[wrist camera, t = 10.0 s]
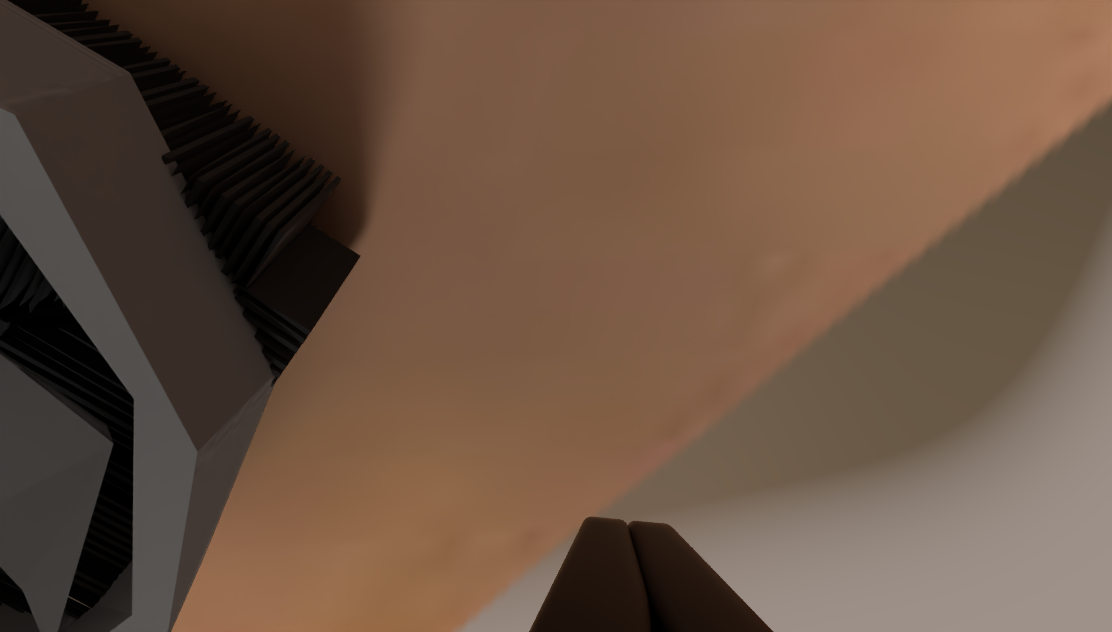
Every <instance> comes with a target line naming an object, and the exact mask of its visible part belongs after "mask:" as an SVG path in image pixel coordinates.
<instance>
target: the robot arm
mask: <svg viewBox="0 0 1112 632" xmlns="http://www.w3.org/2000/svg"><path fill="white" fill-rule="evenodd" d="M529 632H773V631H772V630H771V629H770V628H769V627H768V626H767V625H766V624H765V623H764V622H763V621H762V620H761V619H760V618H759V617H758V615H757V614H756V613H755V612H754V611H753V610H752V609H751V608H750V607H749V606H748V605H747V604H746V603H745V602H744V601H743V600H742V599H741V598H740V597H739V596H738V595H737V594H736V593H735V592H734V591H733V590H732V589H731V588H730V586H728V584H726V582H725V581H724V580H723V579H722V578H721V577H720V576H719V575H718V574H717V573H716V572H715V571H714V570H713V569H712V568H711V567H710V566H709V565H708V564H707V563H706V562H705V561H704V560H703V559H702V558H701V556H699V554H698V553H697V552H696V551H695V550H694V549H693V548H692V547H691V546H690V545H689V544H688V543H687V542H686V541H685V540H684V539H683V538H682V537H681V536H680V535H679V534H678V533H677V532H676V531H675V530H674V529H673V528H672V527H671V526H670V525H667V524H664V523H653V522H642V521H632V522H630V523H629V524H628V525H627V523H626V522H624V521H623V520H620V519H610V518H600V517H588V518H586V519H585V520H584V522H583V523H582V525H581V527H580V530H579V532H578V534H577V536H576V538H575V540H574V542H573V544H572V546H571V548H570V550H569V552H568V554H567V556H566V558H565V560H564V562H563V564H562V566H561V568H560V570H559V572H558V574H557V576H556V579H555V580H554V582H553V584H552V586H551V589H550V591H549V593H548V595H547V597H546V599H545V601H544V603H543V605H542V607H541V609H540V611H539V613H538V615H537V617H536V619H535V621H534V623H533V625H532V627H531V629H530V631H529Z"/></svg>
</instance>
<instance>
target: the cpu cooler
mask: <svg viewBox="0 0 1112 632" xmlns="http://www.w3.org/2000/svg"><path fill="white" fill-rule="evenodd" d="M82 1H83V0H0V632H171V630H172V628H173V626H174V624H175V621H176V619H177V617H178V615H179V612H180V610H181V608H182V606H183V603H184V601H185V599H186V596H187V594H188V592H189V590H190V587H191V585H192V583H193V581H194V578H195V576H196V574H197V572H198V569H199V567H200V565H201V563H202V560H203V558H204V555H205V553H206V551H207V548H208V546H209V543H210V541H211V538H212V536H213V533H214V531H215V529H216V526H217V524H218V521H219V519H220V516H221V514H222V511H223V509H224V506H225V504H226V502H227V499H228V497H229V494H230V492H231V489H232V487H233V484H234V482H235V480H236V477H237V475H238V472H239V470H240V467H241V465H242V462H243V460H244V457H245V455H246V453H247V450H248V448H249V445H250V443H251V440H252V438H253V435H254V433H255V430H256V428H257V426H258V423H259V421H260V418H261V416H262V413H263V411H264V408H265V406H266V404H267V401H268V399H269V396H270V394H271V391H272V389H273V386H274V384H275V382H276V380H277V379H278V378H279V376H280V375H281V373H282V372H283V370H284V369H285V368H286V366H287V365H288V363H289V362H290V361H291V359H292V358H293V356H294V355H295V353H296V352H297V351H298V349H299V348H300V346H301V345H302V344H303V342H304V341H305V339H306V338H307V336H308V335H309V334H310V332H311V331H312V329H313V328H314V326H315V325H316V323H317V322H318V320H319V319H320V317H321V316H322V314H323V313H324V311H325V309H326V308H327V306H328V305H329V303H330V302H331V300H332V299H333V297H334V296H335V294H336V293H337V291H338V290H339V288H340V287H341V285H342V284H343V282H344V281H345V279H346V278H347V276H348V274H349V273H350V271H351V270H352V268H353V267H354V265H355V264H356V262H357V261H358V259H359V258H360V255H358V254H357V253H355V252H354V251H352V250H350V249H349V248H347V247H346V246H344V245H343V244H341V243H340V242H338V241H337V240H335V239H333V238H332V237H330V236H329V235H327V234H326V233H324V232H323V231H321V230H319V229H318V228H316V227H315V226H313V225H312V224H310V223H311V222H312V221H311V220H312V218H313V217H314V216H315V214H316V213H317V212H318V210H319V209H320V207H321V206H322V205H323V203H324V202H325V201H326V199H327V198H328V197H329V195H330V194H331V192H332V191H333V190H334V188H335V187H336V186H337V184H338V183H339V181H340V180H341V178H340V177H338V176H336V177H335V178H334V179H333V180H332V181H331V182H330V183H329V184H328V185H327V186H326V187H325V188H324V189H323V190H322V188H323V187H324V185H325V184H326V182H327V181H328V179H329V178H330V176H331V175H332V172H331V171H329V170H328V171H326V172H325V173H324V174H323V175H322V176H321V177H320V178H318V179H317V177H318V176H319V174H320V173H321V171H322V170H323V168H324V166H322V165H321V164H319V165H318V166H317V167H316V168H314V169H313V170H312V171H311V172H310V173H308V171H309V170H310V168H311V167H312V165H313V164H314V162H315V160H313V159H312V158H310V159H309V160H308V161H306V162H305V163H304V164H302V165H301V163H302V162H303V160H304V158H305V157H306V156H304V157H303V158H301V159H300V160H298V161H296V162H295V163H293V164H292V165H290V166H289V167H287V168H285V169H284V167H285V166H286V164H287V162H288V161H289V159H290V158H291V156H292V154H293V153H294V151H295V150H296V149H294V150H292V151H291V152H289V153H287V154H286V155H284V156H283V157H282V155H283V153H284V152H285V150H286V149H287V147H288V146H289V144H290V143H289V142H287V141H286V140H285V141H284V142H282V143H280V144H279V145H277V146H276V147H275V145H276V144H277V142H278V141H279V139H280V136H279V135H277V134H275V135H273V136H272V137H270V138H269V136H270V135H271V133H272V130H270V129H269V128H268V129H266V130H264V131H263V132H261V133H259V134H258V135H256V136H254V134H255V132H256V130H257V129H258V127H259V125H260V124H261V123H260V124H258V125H256V126H254V127H252V128H250V129H249V127H250V126H251V124H252V122H253V121H254V118H253V117H252V116H248V117H246V118H244V119H242V120H239V121H237V122H235V123H234V121H235V119H236V117H237V116H238V114H239V112H240V110H238V111H236V112H234V113H232V114H230V115H228V116H226V115H227V113H228V111H229V109H230V108H231V106H232V104H230V105H228V106H225V107H224V105H225V104H226V102H227V100H226V101H223V102H220V103H217V104H214V105H211V106H209V104H210V103H211V101H212V99H213V97H214V95H215V94H216V92H215V93H212V94H209V95H205V93H206V92H207V90H208V88H209V87H208V86H207V85H205V84H203V85H199V86H197V84H198V82H199V80H198V79H197V78H195V77H194V78H191V79H187V80H183V81H181V79H182V77H183V75H184V73H185V72H186V71H184V72H180V73H178V71H179V70H180V68H181V67H179V66H178V65H176V64H175V65H170V66H168V65H169V63H170V62H171V60H169V59H168V58H161V59H156V60H154V58H155V56H156V54H157V52H153V53H147V51H148V50H149V48H150V46H149V47H142V48H139V47H140V45H141V44H142V42H143V41H142V40H140V39H139V38H134V39H131V37H132V35H133V34H132V33H130V32H129V31H122V32H116V30H117V28H118V26H119V25H113V26H108V25H109V23H110V21H111V20H95V18H96V16H97V14H98V12H99V11H90V12H85V10H86V8H87V6H88V4H81V3H82ZM146 53H147V54H146ZM204 95H205V96H204ZM225 116H226V117H225ZM253 136H254V137H253ZM252 137H253V138H252ZM300 165H301V166H300ZM299 166H300V167H299ZM283 169H284V170H283ZM307 173H308V174H307ZM306 174H307V175H306ZM316 179H317V180H316ZM315 180H316V181H315ZM321 190H322V191H321ZM320 191H321V192H320ZM310 221H311V222H310ZM309 224H310V225H309ZM308 225H309V226H308ZM307 226H308V227H307ZM306 227H307V228H306ZM305 228H306V229H305ZM304 229H305V230H304ZM303 230H304V231H303ZM302 231H303V232H302ZM301 232H302V233H301Z"/></svg>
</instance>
